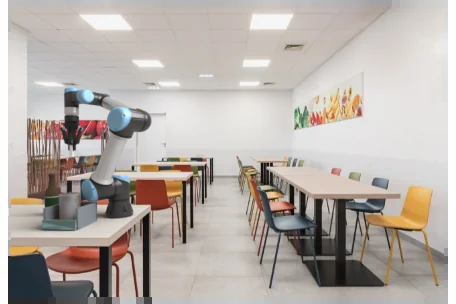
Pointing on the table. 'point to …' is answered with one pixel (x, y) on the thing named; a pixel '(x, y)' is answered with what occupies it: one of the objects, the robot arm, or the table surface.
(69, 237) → the table surface
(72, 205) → the pillar candle
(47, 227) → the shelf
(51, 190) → the beer bottle
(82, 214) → the cradle
